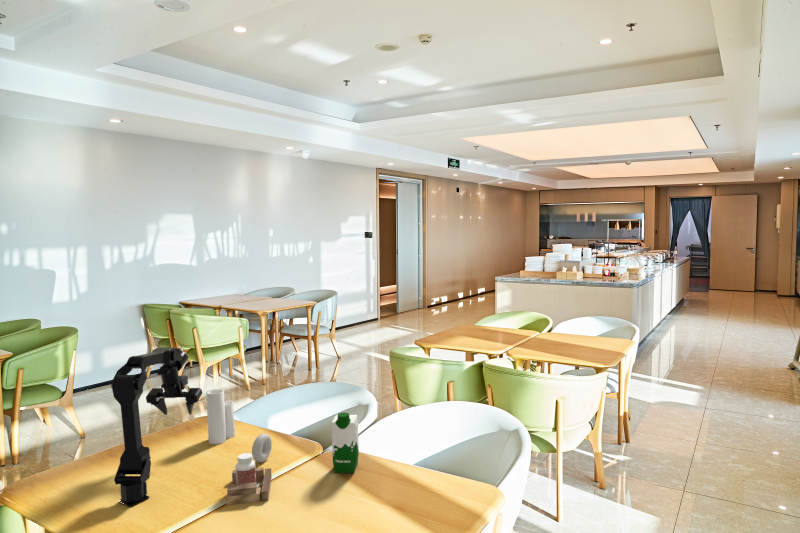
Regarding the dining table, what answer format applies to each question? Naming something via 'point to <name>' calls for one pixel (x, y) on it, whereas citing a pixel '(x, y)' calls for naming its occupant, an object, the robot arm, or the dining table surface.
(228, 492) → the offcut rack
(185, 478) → the dining table surface
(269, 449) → the grey rounded piece
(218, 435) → the vase
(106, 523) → the dining table surface
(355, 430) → the milk carton
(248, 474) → the pill bottle
